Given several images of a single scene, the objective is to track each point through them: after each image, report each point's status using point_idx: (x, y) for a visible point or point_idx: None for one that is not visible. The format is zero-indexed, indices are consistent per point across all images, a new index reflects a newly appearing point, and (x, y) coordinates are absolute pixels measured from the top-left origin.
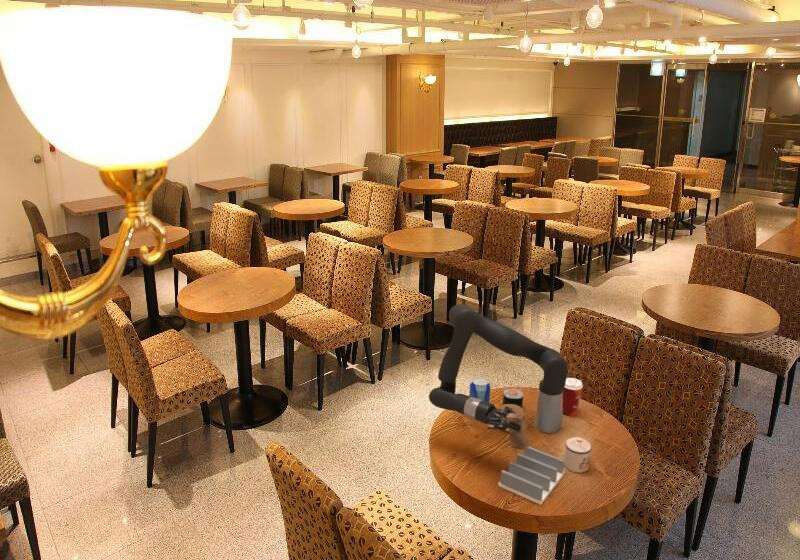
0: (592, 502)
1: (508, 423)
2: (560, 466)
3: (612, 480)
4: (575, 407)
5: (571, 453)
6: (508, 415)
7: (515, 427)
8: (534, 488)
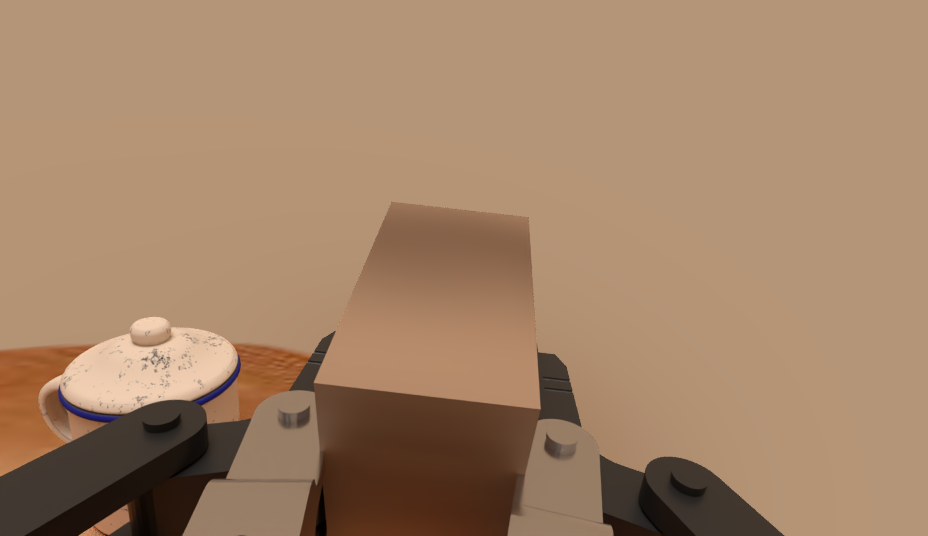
0: None
1: (584, 447)
2: None
3: (259, 376)
4: None
5: (222, 404)
6: (458, 390)
7: (567, 379)
8: None
